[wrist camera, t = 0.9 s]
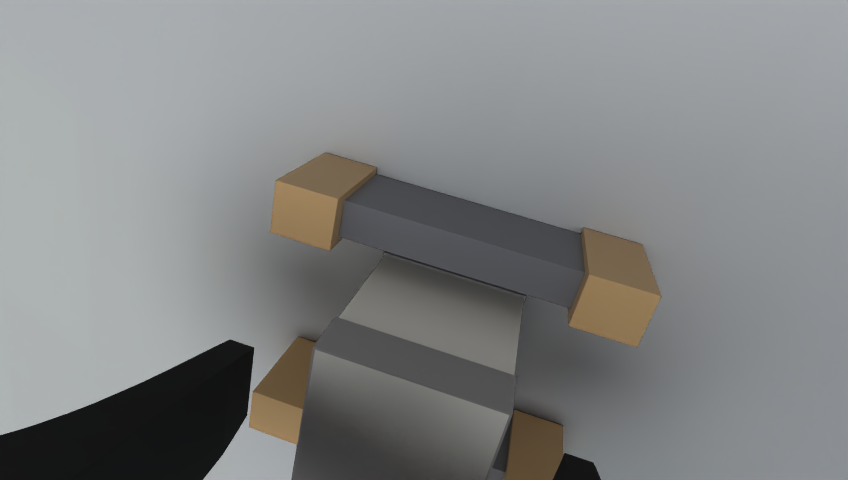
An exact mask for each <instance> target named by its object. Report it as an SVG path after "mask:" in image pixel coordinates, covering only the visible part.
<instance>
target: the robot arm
mask: <svg viewBox="0 0 848 480" xmlns="http://www.w3.org/2000/svg"><path fill="white" fill-rule="evenodd" d="M253 354H254V347H251V346H248V345H245V344H242V343H239V342H236V341H233V340H228V341H226V342H224V343H222V344H220V345H218V346H216V347H214V348H211V349H209V350H207V351H205V352H203V353H201V354H199V355H197V356H195V357H193V358H191V359H189V360H187V361H185V362H183V363H181V364H179V365H177V366H175V367H173V368H171V369H169V370H167V371H165V372H163V373H161V374H159V375H157V376H155V377H152V378H150V379H148V380H146V381H144V382H142V383H140V384H138V385H135V386H133V387H131V388H128V389H126V390H124V391H121V392H119V393H117V394H115V395H112V396H110V397H108V398H105V399H103V400H101V401H98V402H96V403H94V404H91V405H89V406H86V407H83V408H81V409H78V410H76V411H73V412H70V413H68V414H65V415H62V416H59V417H56V418H53V419H51V420H48V421H45V422H42V423H39V424H36V425H33V426H30V427H27V428H24V429H21V430H17V431H14V432H10V433H7V434H3V435H0V480H203V479H204V477H205V476H206V475H207V474H208V472H209V471H210V470H211V469H212V467H213V466H214V465H215V464H216V462H217V461H218V460H219V459H220V457H221V456H222V455H223V453H224V452H225V450H226V448H227V447H228V445H229V444H230V442H231V441H232V439H233V438H234V436H235V434H236V433H237V431H238V429H239V428H240V426H241V424H242V423H243V421H244V419H245V418H246V416H247V411H248V401H249V392H250V382H251V373H252V364H253ZM553 480H601V479H600V476H599V474H598V471H597V469H596V467H595V465H594V463H593V462H590V461H587V460H584V459H581V458H578V457H575V456H572V455H569V454H566V453H565V454H564V456H563V458H562V460H561V462H560V465H559V467H558V469H557V471H556V473H555V476H554V478H553Z"/></svg>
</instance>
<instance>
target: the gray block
mask: <svg viewBox="0 0 848 480" xmlns="http://www.w3.org/2000/svg"><path fill="white" fill-rule="evenodd" d="M525 299H526V294H522V293H519V292H516V291H513V290H510V289H506V288H503V287H500V286H497V285H493V284H490V283H487V282H484V281H481V280H477V279H474V278H471V277H468V276H464V275H461V274H458V273H455V272H451V271H448V270H445V269H442V268H439V267H435V266H432V265H429V264H426V263H422V262H419V261H416V260H413V259H409V258H406V257H403V256H400V255H397V254H393V253H390V252H387V251H385V252H384V254H383V258H382V259H381V261H380V262H379V264H378V265H377V266H376V268H375V269H374V270H373V272H372V273H371V274H370V276H369V277H368V278H367V280H366V281H365V282H364V284H363V285H362V287H361V288H360V289H359V291H358V292H357V293H356V295H355V296H354V297H353V299H352V300H351V301H350V303H349V304H348V305H347V307H346V308H345V310H344V311H343V312H342V314H341V315H340V316H339V318H338V317H335V318H334V319H333V321H332V322H331V323H330V325H329V326H328V327H327V329H326V330H325V331H324V333H323V334H322V335H321V337H320V338H319V339H318V341H317V342H316V343H315V345H314V346H313V350H312V356H311V362H310V368H309V375H308V381H307V387H306V393H305V399H304V405H303V412H302V418H301V424H300V430H299V436H298V442H297V449H296V455H295V461H294V467H293V473H292V480H488V478H489V475H490V472H491V470H492V467H493V465H494V462H495V459H496V457H497V454H498V451H499V449H500V446H501V444H502V441H503V438H504V436H505V433H506V430H507V428H508V425H509V423H510V420H511V417H512V415H513V407H514V399H515V390H516V381H517V376H515V375H514V374H515V366H516V358H517V350H518V342H519V333H520V325H521V317H522V309H523V304H524V302H525Z"/></svg>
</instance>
